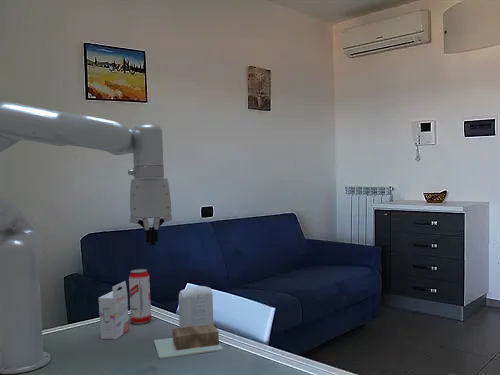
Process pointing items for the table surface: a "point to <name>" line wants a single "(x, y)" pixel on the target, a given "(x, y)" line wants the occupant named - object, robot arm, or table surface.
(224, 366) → the table surface
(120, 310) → the ink cartridge box
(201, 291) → the photo printer
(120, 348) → the table surface
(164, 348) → the board
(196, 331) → the slab
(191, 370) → the table surface
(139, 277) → the red striped can
